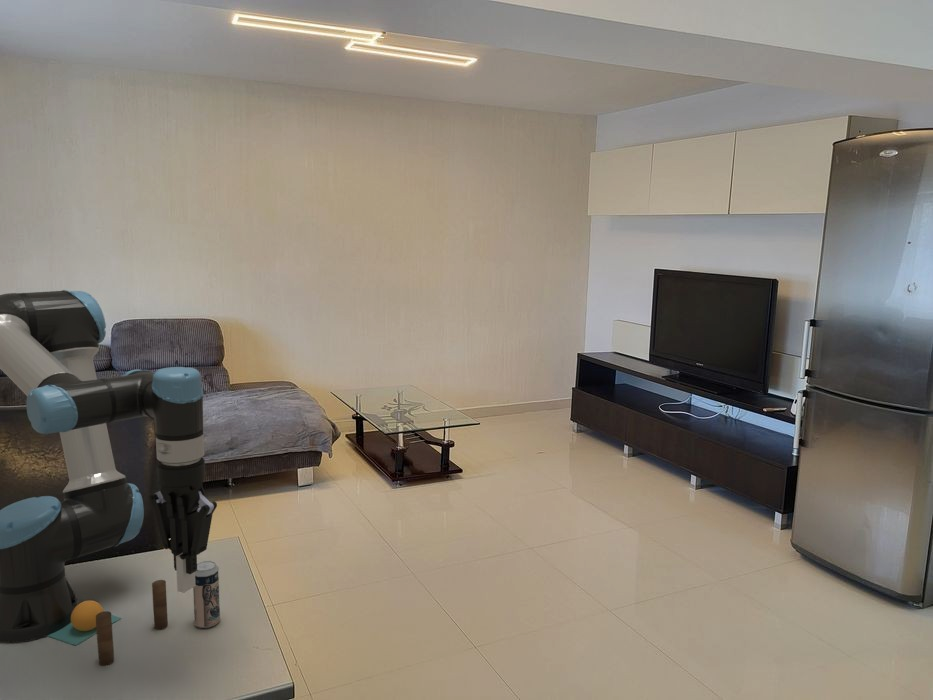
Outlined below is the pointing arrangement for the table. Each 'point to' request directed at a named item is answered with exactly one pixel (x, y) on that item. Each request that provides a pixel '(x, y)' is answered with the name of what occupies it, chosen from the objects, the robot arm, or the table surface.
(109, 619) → the post
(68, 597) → the robot arm
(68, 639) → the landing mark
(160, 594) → the post
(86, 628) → the ball
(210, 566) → the beer can
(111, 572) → the table surface
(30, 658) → the table surface
